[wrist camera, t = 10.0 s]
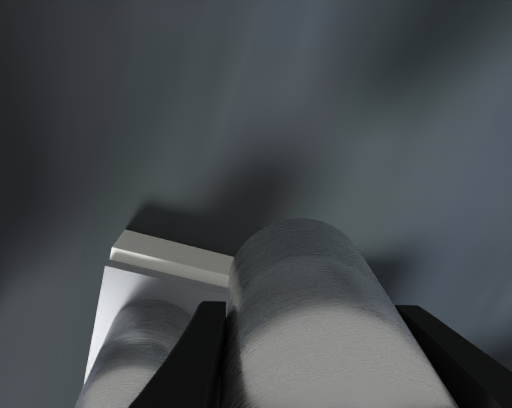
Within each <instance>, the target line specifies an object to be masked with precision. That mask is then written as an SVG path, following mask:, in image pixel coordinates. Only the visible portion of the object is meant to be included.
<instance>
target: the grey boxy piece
mask: <svg viewBox="0 0 512 408" xmlns="http://www.w3.org/2000/svg"><path fill="white" fill-rule="evenodd" d="M233 259H234V257H232V256H228V255H224V254H220V253H216V252H212V251H208V250H204V249H200V248H196V247H192V246H188V245H185V244H181V243H177V242H173V241H169V240H165V239H161V238H157V237H153V236H149V235H145V234H141V233H137V232H133V231H129V230H124V232H123V233H122V234H121V236H120V237H119V238H118V240H117V241H116V242H115V244H114V245H113V246H112V250H111V255H110V260H109V261H108V263H107V264H106V265H105V270H104V275H103V281H102V286H101V292H100V297H99V303H98V308H97V314H96V319H95V325H94V331H93V336H92V342H91V347H90V353H89V358H88V364H87V369H86V375H85V380H84V384H85V382H86V380H87V378H88V375H89V373H90V371H91V369H92V366H93V364H94V362H95V360H96V357H97V355H98V353H99V351H100V348H101V346H102V344H103V342H104V339H105V337H106V335H107V333H108V331H109V328H110V326H111V324H112V322H113V320H114V318H115V317H116V316H117V314H118V313H119V312H120V311H122V310H123V309H124V308H126V307H128V306H129V305H132V304H134V303H137V302H141V301H149V300H155V301H163V302H167V303H171V304H173V305H175V306H178V307H179V308H181V309H183V310H184V311H185V312H186V313H187V314H188V315H189V316H190V317H191V318H192V317H193V315H194V313H195V311H196V309H197V307H198V305H199V304H200V303H201V302H202V301H226V307H227V294H228V281H229V272H230V268H231V264H232V261H233Z"/></svg>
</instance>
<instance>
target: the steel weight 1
mask: <svg viewBox="0 0 512 408" xmlns="http://www.w3.org/2000/svg"><path fill="white" fill-rule="evenodd" d="M191 319H192V318H191V317H190V316H189V315H188V314H187V313H186V312H185V311H184V310H183V309H181V308H179V307H178V306H175V305H173V304H171V303H167V302H163V301H155V300H149V301H141V302H137V303H134V304H132V305H129V306H128V307H126V308H124V309H123V310H122V311H120V312H119V313H118V314H117V316H116V317H115V318H114V320H113V322H112V324H111V326H110V328H109V331H108V333H107V335H106V337H105V339H104V342H103V344H102V346H101V348H100V351H99V353H98V355H97V357H96V360H95V362H94V364H93V366H92V369H91V371H90V373H89V375H88V378H87V380H86V382H85V384H84V386H83V389H82V391H81V393H80V395H79V398H78V400H77V402H76V404H75V407H74V408H128V407H129V406H130V404H131V403H132V402H133V401H134V400H135V398H136V397H137V396H138V395H139V394H140V392H141V391H142V390H143V389H144V387H145V386H146V385H147V383H148V382H149V381H150V379H151V378H152V377H153V375H154V374H155V373H156V372H157V370H158V369H159V368H160V366H161V365H162V364H163V362H164V361H165V359H166V358H167V357H168V355H169V354H170V352H171V351H172V349H173V348H174V346H175V345H176V343H177V342H178V340H179V339H180V337H181V336H182V334H183V332H184V331H185V329H186V327H187V326H188V324H189V322H190V321H191Z"/></svg>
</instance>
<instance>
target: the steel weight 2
mask: <svg viewBox="0 0 512 408" xmlns="http://www.w3.org/2000/svg"><path fill="white" fill-rule="evenodd" d="M219 408H459V407H458V405H457V404H456V402H455V401H454V399H453V398H452V396H451V394H450V393H449V391H448V390H447V388H446V387H445V385H444V383H443V382H442V380H441V379H440V377H439V375H438V374H437V372H436V371H435V369H434V368H433V366H432V364H431V363H430V361H429V360H428V358H427V357H426V355H425V353H424V352H423V350H422V349H421V347H420V346H419V344H418V342H417V341H416V339H415V338H414V336H413V335H412V333H411V331H410V330H409V328H408V327H407V325H406V323H405V322H404V320H403V319H402V317H401V316H400V314H399V312H398V311H397V309H396V308H395V306H394V305H393V303H392V301H391V300H390V298H389V297H388V295H387V294H386V292H385V290H384V289H383V287H382V286H381V284H380V283H379V281H378V279H377V278H376V276H375V275H374V273H373V272H372V270H371V268H370V267H369V265H368V264H367V262H366V260H365V259H364V257H363V256H362V254H361V253H360V251H359V249H358V248H357V246H356V245H355V244H354V242H353V241H352V240H351V239H350V238H349V237H348V236H347V235H346V234H345V233H343V232H342V231H341V230H339V229H338V228H336V227H334V226H332V225H330V224H327V223H325V222H321V221H317V220H312V219H290V220H284V221H280V222H276V223H274V224H271V225H268V226H266V227H264V228H263V229H261V230H259V231H258V232H256V233H255V234H253V235H252V236H251V237H250V238H249V239H248V240H246V241H245V243H244V244H243V245H242V246H241V247H240V249H239V250H238V252H237V253H236V255H235V257H234V259H233V261H232V264H231V268H230V272H229V281H228V294H227V307H226V324H225V338H224V350H223V360H222V372H221V385H220V398H219Z"/></svg>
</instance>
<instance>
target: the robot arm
mask: <svg viewBox="0 0 512 408" xmlns="http://www.w3.org/2000/svg"><path fill="white" fill-rule="evenodd" d="M395 308H396V309H397V311H398V312H399V314H400V316H401V317H402V319H403V320H404V322H405V323H406V325H407V327H408V328H409V330H410V331H411V333H412V335H413V336H414V338H415V339H416V341H417V342H418V344H419V346H420V347H421V349H422V350H423V352H424V353H425V355H426V357H427V358H428V360H429V361H430V363H431V364H432V366H433V368H434V369H435V371H436V372H437V374H438V375H439V377H440V379H441V380H442V382H443V383H444V385H445V387H446V388H447V390H448V391H449V393H450V394H451V396H452V398H453V399H454V401H455V402H456V404H457V405H458V407H459V408H512V372H511V371H510V370H508V369H507V368H505V367H504V366H502V365H501V364H499V363H498V362H497V361H495V360H494V359H492V358H491V357H490V356H488V355H487V354H485V353H484V352H483V351H481V350H480V349H478V348H477V347H476V346H474V345H473V344H471V343H470V342H469V341H467V340H466V339H465V338H463V337H462V336H460V335H459V334H458V333H456V332H455V331H454V330H452V329H451V328H449V327H448V326H447V325H445V324H444V323H443V322H441V321H440V320H438V319H437V318H436V317H434V316H433V315H431V314H430V313H428V312H427V311H425V310H424V309H422V308H421V307H419V306H415V305H395ZM225 324H226V301H202V302H201V303H200V304H199V305H198V307H197V309H196V311H195V313H194V315H193V317H192V319H191V321H190V322H189V324H188V326H187V327H186V329H185V331H184V332H183V334H182V336H181V337H180V339H179V340H178V342H177V343H176V345H175V346H174V348H173V349H172V351H171V352H170V354H169V355H168V357H167V358H166V359H165V361H164V362H163V364H162V365H161V366H160V368H159V369H158V370H157V372H156V373H155V374H154V375H153V377H152V378H151V379H150V381H149V382H148V383H147V385H146V386H145V387H144V389H143V390H142V391H141V392H140V394H139V395H138V396H137V397H136V398H135V400H134V401H133V402H132V403H131V404H130V406H129V407H128V408H219V398H220V385H221V372H222V360H223V350H224V338H225Z"/></svg>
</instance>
